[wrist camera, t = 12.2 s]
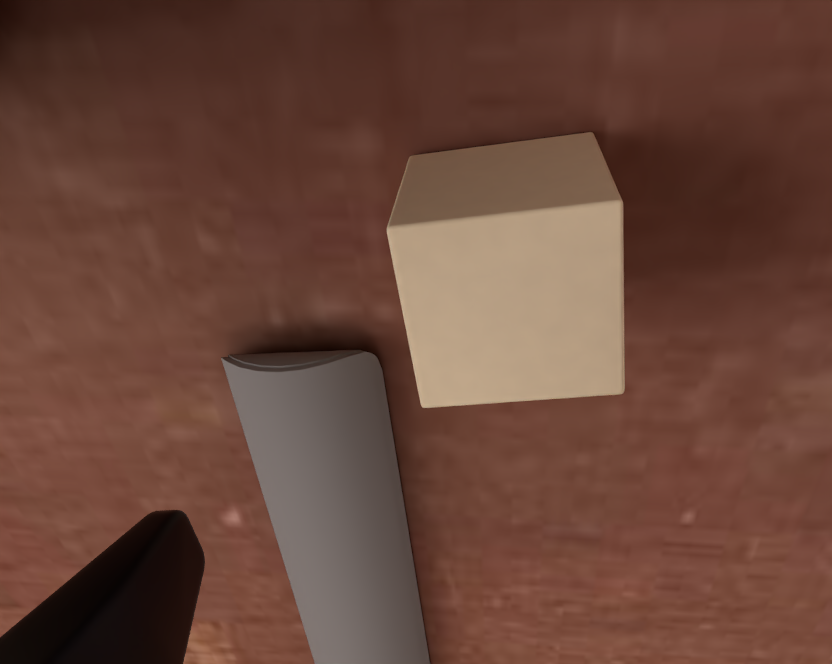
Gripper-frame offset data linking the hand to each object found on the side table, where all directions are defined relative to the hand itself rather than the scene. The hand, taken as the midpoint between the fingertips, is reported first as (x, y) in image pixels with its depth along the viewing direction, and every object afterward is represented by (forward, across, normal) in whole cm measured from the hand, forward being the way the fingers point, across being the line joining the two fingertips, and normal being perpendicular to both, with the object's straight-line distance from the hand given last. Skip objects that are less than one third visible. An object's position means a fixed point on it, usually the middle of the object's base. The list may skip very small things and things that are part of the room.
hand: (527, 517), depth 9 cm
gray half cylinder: (+9, +6, +12) cm, 16 cm away
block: (+9, 0, 0) cm, 9 cm away
